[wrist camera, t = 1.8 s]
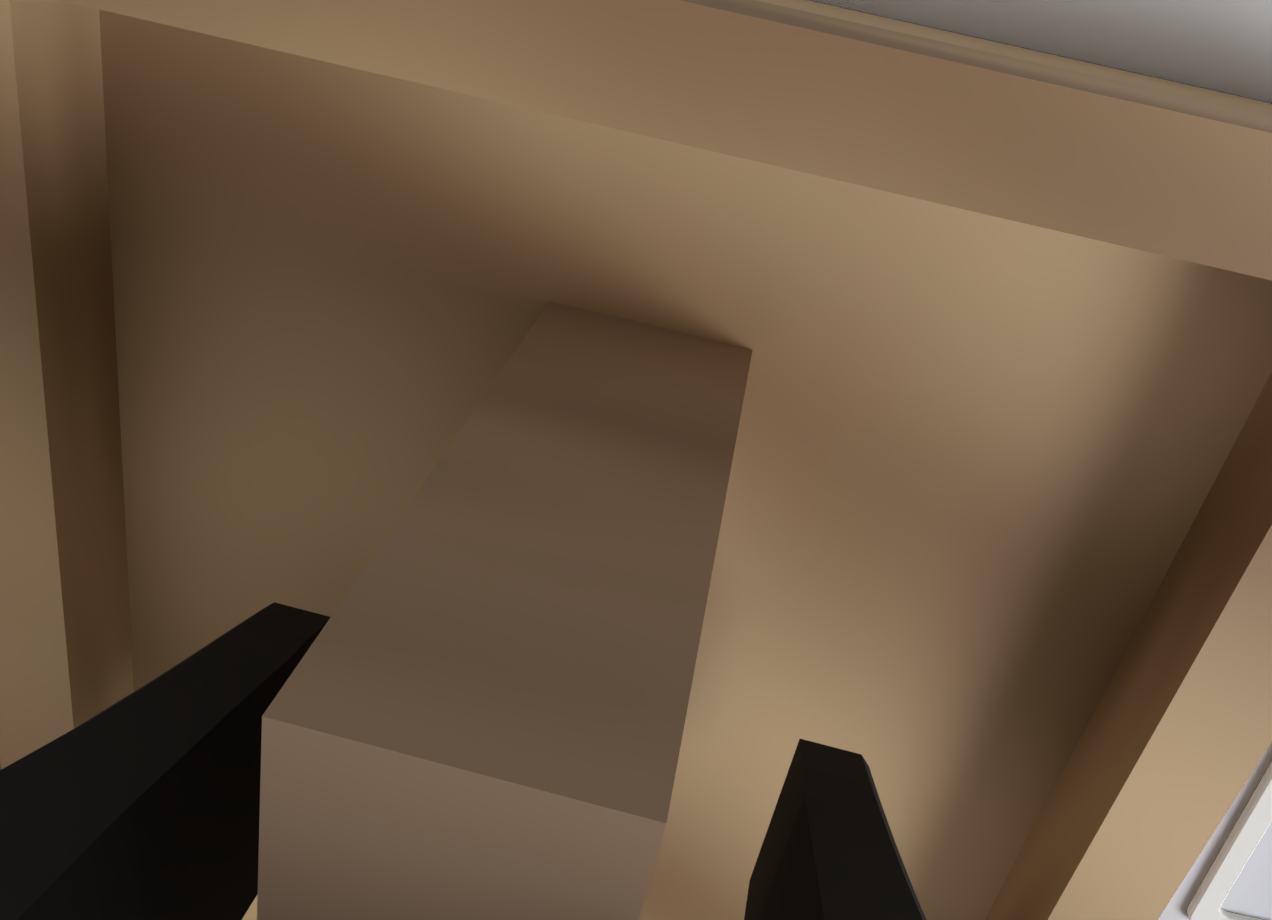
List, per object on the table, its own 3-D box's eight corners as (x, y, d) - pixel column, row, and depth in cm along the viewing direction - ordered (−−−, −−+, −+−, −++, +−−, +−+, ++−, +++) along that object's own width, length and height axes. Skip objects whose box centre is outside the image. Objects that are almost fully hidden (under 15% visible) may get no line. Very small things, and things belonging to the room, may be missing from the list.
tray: (802, 1325, 20) (798, 1478, 18) (139, 1135, 21) (67, 1262, 19) (1456, 144, 9) (1613, 209, 8) (53, -169, 10) (-128, -181, 8)
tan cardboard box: (607, 902, 14) (473, 1494, 9) (460, 862, 14) (243, 1424, 9) (752, 349, 10) (667, 823, 5) (549, 302, 10) (261, 716, 5)
